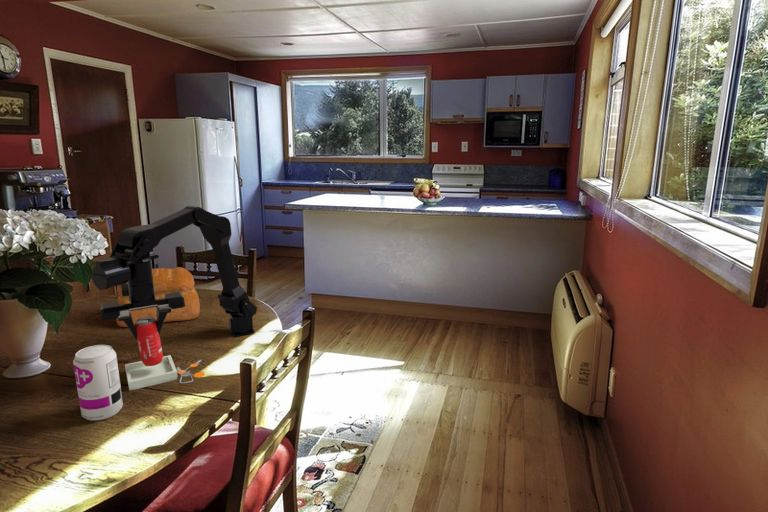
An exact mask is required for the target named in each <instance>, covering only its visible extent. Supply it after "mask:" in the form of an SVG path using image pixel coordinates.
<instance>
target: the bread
mask: <svg viewBox="0 0 768 512" xmlns="http://www.w3.org/2000/svg"><path fill="white" fill-rule="evenodd" d="M152 273H153V282H154V291H155V299H162V298H165V294H167V293H174V292H180V293H181V294H182V296H183V297H184V301H185V307H183V308H177V309H171V308H170V309H171V313H167V315H166V318H165V320H164V322H163V323H168V322H181V321H189V320H194V319H196V318H199V316H200V315H201V314H200V312H201V304H200V298H199V293H198V292H197V290H196V288H195V279H194V276H193V274H192V273H191V272H190V271H189V270H187V269H186V268H184V267H179V266H177V267H174V268H168V267H166V268H165V267H159V268H152ZM126 284H128V282H127V283H126ZM116 292H117V295H118V297H117V300H116V301H118V304H119V305H123V304H129V303H130V301H129V296H125V297H122V292H121V285H119V286H116ZM130 313H131V316H132V320H133V323H134V326H135V322H136V321H137V320H138V319H140V318H144V317H154V318H155V320H156V321H157V310H156V307H152V308H146V309H140V310H134V311H130ZM115 320H116V321H115V322H116V324H117V326H118V327H121V328H129V327H128V326H127V325H126V324H125V322H124V321H118V318H117V319H115Z"/></svg>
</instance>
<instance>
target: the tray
mask: <svg viewBox="0 0 768 512" xmlns="http://www.w3.org/2000/svg"><path fill="white" fill-rule="evenodd" d="M124 367H125V374H126V379H127V384H128V390H129V391H133V390H138V389H142V388H145V387H151V386H156V385H159V384H163V383H169V382H173V381H176V380H179V378H178V377H179V376H178V373H177V372H178V371H177V370H176V368H177V367H176V365H175V363H174V360H173V358H172V356H171V354H169V355H163V358H162V362H161V363H159V364H158V365H155V366H145V365H144V364H143V362H142V360H140V361H135V362H129V363H124Z"/></svg>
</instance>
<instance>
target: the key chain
mask: <svg viewBox="0 0 768 512" xmlns="http://www.w3.org/2000/svg"><path fill="white" fill-rule="evenodd" d="M202 360H203V359H198V361H196V362H195V363H191V364H190V365H189V367H187V368H186V369H181V367H179V366H178V367H175V368H176V370H177V375H178V374H179V375H180V377H179V384H181V385H182V384H189V383H192V382H194V379H193V377H194V378H201V377H203V376H205V372H201V371H200V372H195V373H193V374H192V373H190V372H191V371H190V370H188V369H190V368H195V367H198V365H199V364H200V363H201V362H202ZM186 377H190V378H191V380H189V381H183V382H182V378H186Z"/></svg>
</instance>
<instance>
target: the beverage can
mask: <svg viewBox="0 0 768 512" xmlns="http://www.w3.org/2000/svg"><path fill="white" fill-rule="evenodd" d="M135 330H136V333H137V339H136V340H137V344H138V345H137V346H138V349H139V354H140V355H139V356H140V361H142V362H143V364H144V365H145V366H155V365H158V364H159V363H161V362H162V358H163V356H164V354H163V348H162V341H161V337H160V334H159V333H158V330H157V321H156V320H155V318H154V317H144V318H140V319H138V320H137V321H136V322H135Z"/></svg>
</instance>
